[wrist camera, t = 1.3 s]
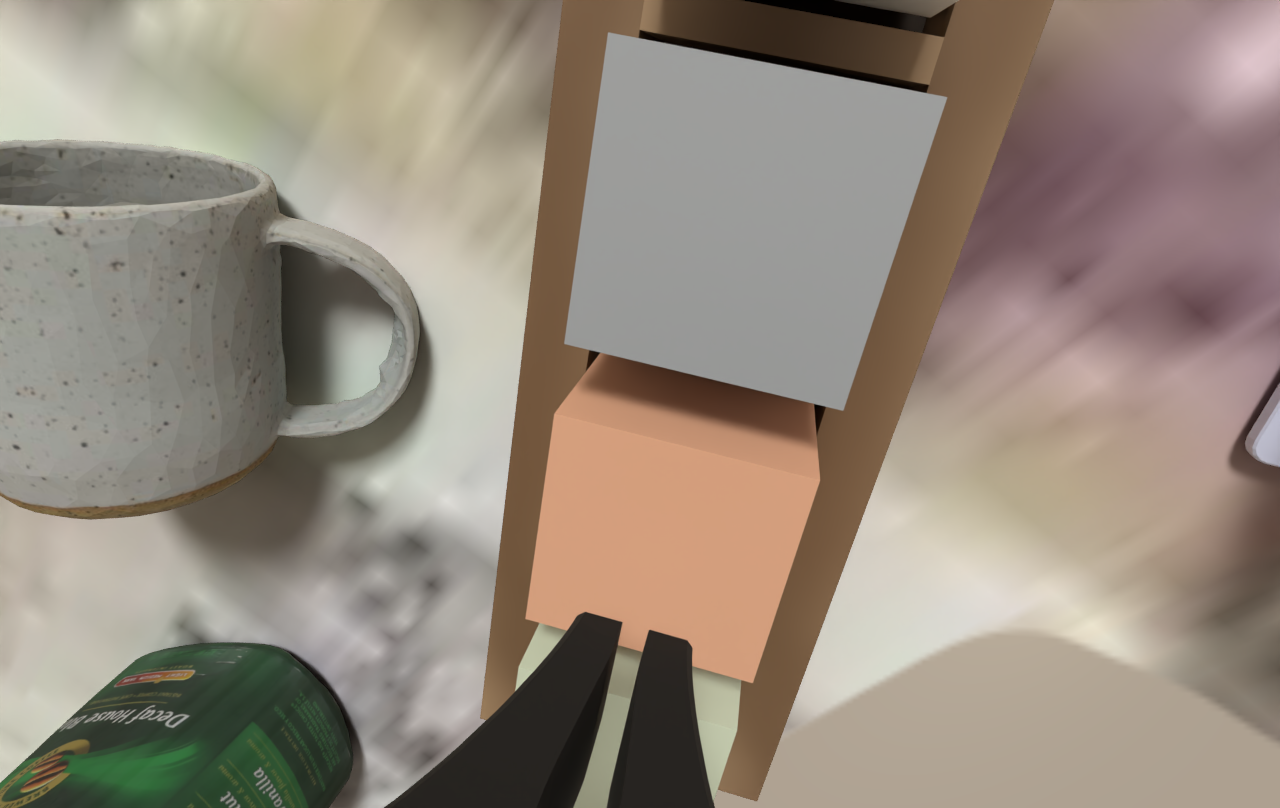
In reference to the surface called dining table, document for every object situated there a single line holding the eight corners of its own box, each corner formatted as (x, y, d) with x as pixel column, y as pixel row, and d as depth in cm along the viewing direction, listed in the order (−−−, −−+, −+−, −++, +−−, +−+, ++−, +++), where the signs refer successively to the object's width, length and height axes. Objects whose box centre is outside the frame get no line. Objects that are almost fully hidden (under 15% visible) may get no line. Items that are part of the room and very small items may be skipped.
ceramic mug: (136, 391, 24) (-131, 513, 17) (87, 131, 20) (-273, 147, 13) (436, 451, 22) (284, 608, 16) (437, 185, 19) (244, 235, 12)
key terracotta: (813, 396, 16) (820, 480, 13) (759, 569, 18) (753, 682, 15) (604, 346, 17) (554, 413, 13) (575, 520, 19) (525, 618, 15)
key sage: (747, 610, 19) (737, 730, 15) (706, 740, 21) (689, 872, 17) (568, 562, 19) (518, 666, 16) (546, 693, 22) (498, 812, 18)
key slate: (905, 99, 14) (947, 97, 10) (830, 340, 16) (843, 411, 12) (654, 50, 14) (608, 32, 11) (614, 290, 16) (564, 343, 13)
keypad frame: (1137, -355, 13) (1232, -482, 10) (760, 722, 24) (757, 801, 21) (658, -414, 13) (625, -545, 11) (514, 651, 25) (480, 718, 22)
